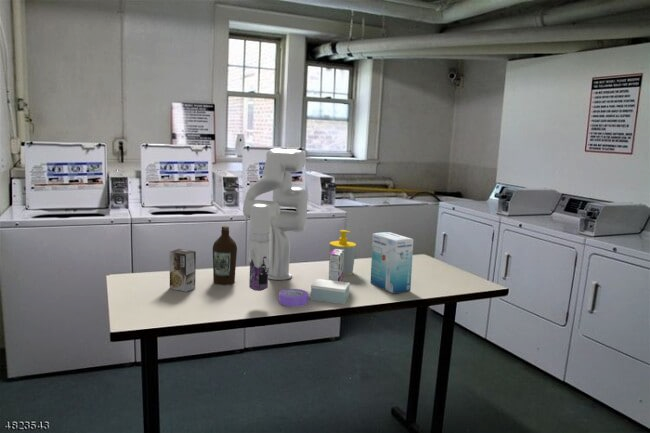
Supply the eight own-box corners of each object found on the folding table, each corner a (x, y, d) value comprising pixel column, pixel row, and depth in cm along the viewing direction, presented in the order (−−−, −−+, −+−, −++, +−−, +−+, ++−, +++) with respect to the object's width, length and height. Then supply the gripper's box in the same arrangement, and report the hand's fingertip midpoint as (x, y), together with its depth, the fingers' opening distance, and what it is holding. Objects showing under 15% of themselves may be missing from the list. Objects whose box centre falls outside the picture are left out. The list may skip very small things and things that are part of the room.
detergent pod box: (310, 299, 210) (311, 285, 209) (316, 292, 220) (317, 278, 219) (343, 304, 207) (344, 289, 206) (348, 296, 216) (349, 282, 215)
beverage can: (249, 285, 202) (250, 256, 199) (267, 285, 202) (268, 256, 200) (248, 291, 195) (249, 261, 192) (267, 292, 195) (268, 262, 193)
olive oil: (215, 277, 233) (216, 223, 228) (238, 279, 232) (240, 225, 228) (208, 284, 222) (209, 228, 218) (232, 286, 222) (234, 229, 217)
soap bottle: (354, 277, 246) (357, 234, 243) (327, 275, 246) (330, 232, 243) (353, 269, 259) (356, 228, 256) (328, 268, 259) (330, 227, 256)
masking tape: (275, 298, 210) (275, 289, 209) (301, 296, 214) (302, 287, 214) (284, 308, 199) (284, 298, 198) (311, 305, 204) (312, 296, 203)
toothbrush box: (368, 283, 237) (372, 232, 233) (386, 280, 243) (390, 231, 239) (392, 294, 222) (396, 240, 218) (410, 291, 228) (415, 238, 224)
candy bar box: (332, 283, 234) (334, 248, 231) (342, 284, 233) (344, 249, 230) (327, 290, 223) (329, 253, 221) (338, 291, 222) (340, 255, 220)
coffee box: (196, 288, 216) (196, 251, 214) (186, 292, 210) (186, 254, 208) (179, 284, 220) (179, 248, 217) (168, 288, 214) (168, 250, 212)
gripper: (241, 232, 199) (241, 275, 203) (259, 243, 185) (258, 289, 189) (259, 230, 203) (258, 273, 207) (278, 241, 189) (277, 286, 192)
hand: (258, 280), depth 198 cm, fingers closed on beverage can, 7 cm apart
